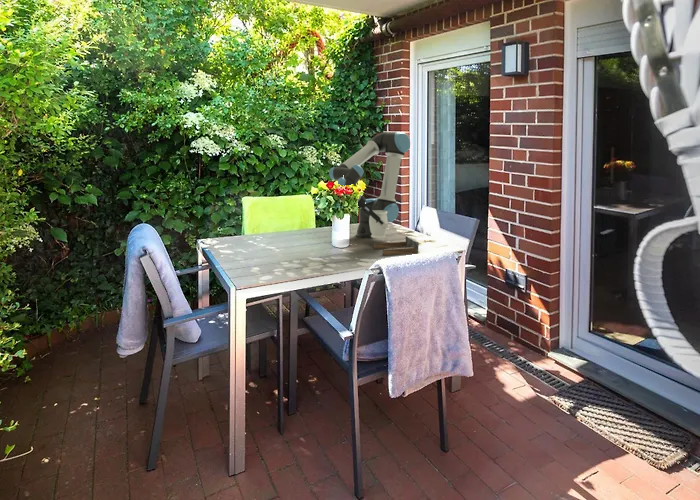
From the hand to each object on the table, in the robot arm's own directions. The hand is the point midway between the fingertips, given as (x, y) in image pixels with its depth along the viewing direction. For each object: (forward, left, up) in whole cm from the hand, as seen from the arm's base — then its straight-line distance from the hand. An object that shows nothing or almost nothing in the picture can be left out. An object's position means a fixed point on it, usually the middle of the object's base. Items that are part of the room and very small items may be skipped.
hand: (383, 225), depth 300 cm
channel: (+16, +2, -11) cm, 20 cm away
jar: (0, -3, -7) cm, 7 cm away
